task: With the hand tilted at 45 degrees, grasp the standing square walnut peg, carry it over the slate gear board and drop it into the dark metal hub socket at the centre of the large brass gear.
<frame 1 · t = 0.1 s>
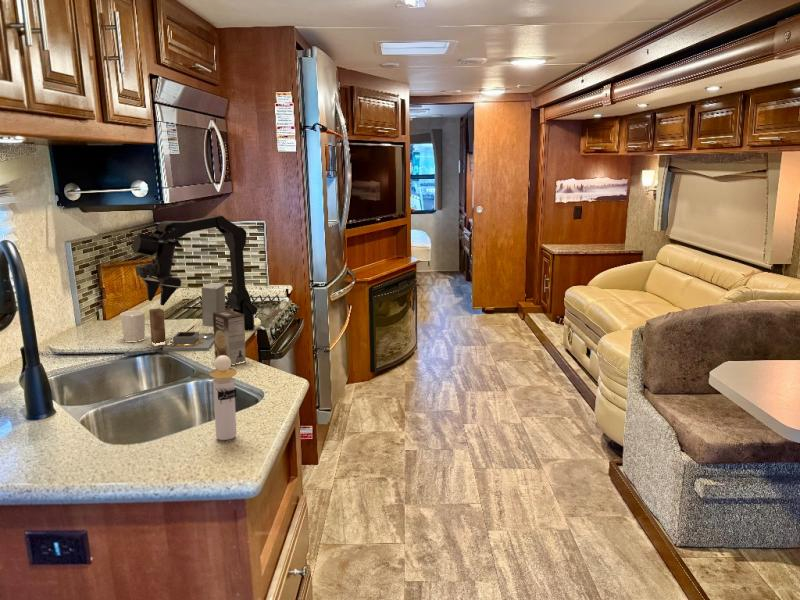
hand: (155, 303, 202), 15 cm above the counter, tool pointing down, fingers open, 9 cm apart
gears: (187, 345, 206), resting on board
coffee box: (230, 362, 191), on the counter
perfume bottle: (226, 439, 136), on the counter
board: (191, 343, 209), on the counter
skincare box: (214, 324, 236), on the counter
white cup: (134, 340, 212), on the counter
peg: (158, 344, 207), on the counter
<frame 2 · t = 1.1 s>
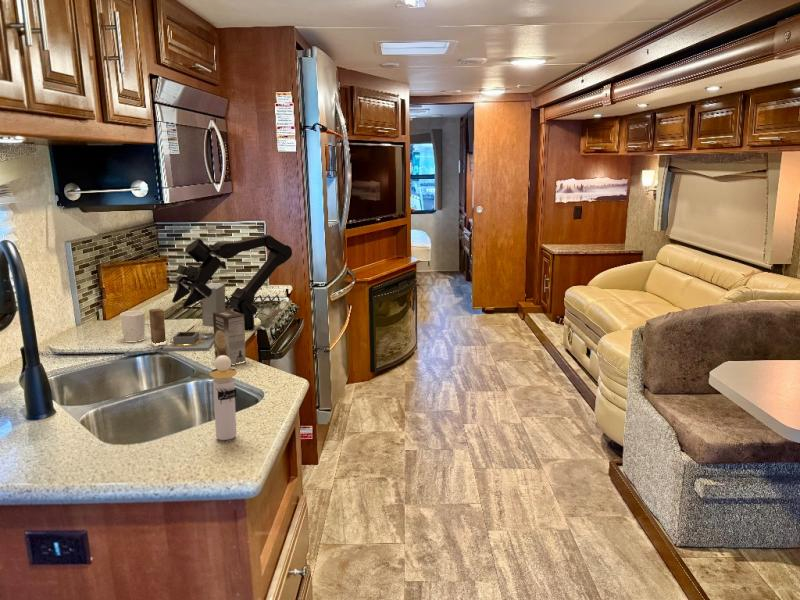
hand: (178, 304, 209), 13 cm above the counter, tool tilted 45°, fingers open, 9 cm apart
nothing on the counter moved.
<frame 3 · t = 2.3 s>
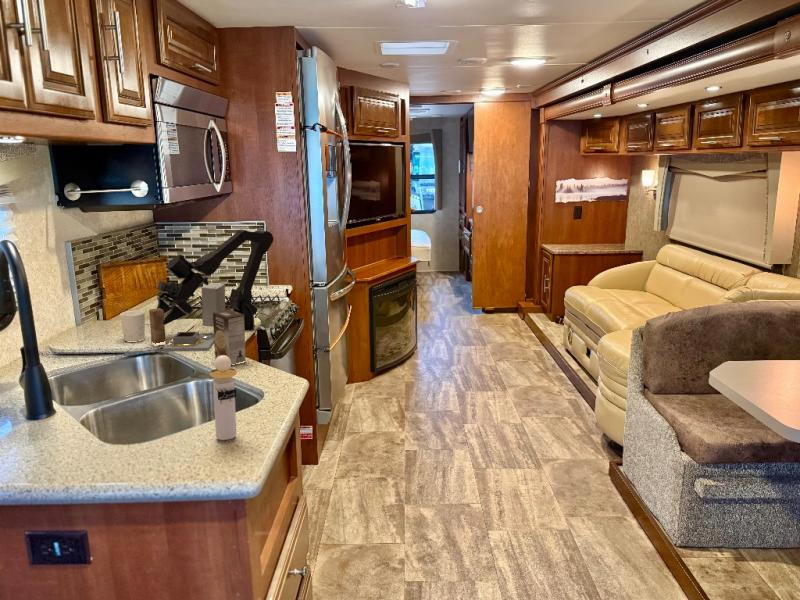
hand: (158, 321, 206), 8 cm above the counter, tool tilted 45°, fingers open, 9 cm apart
nothing on the counter moved.
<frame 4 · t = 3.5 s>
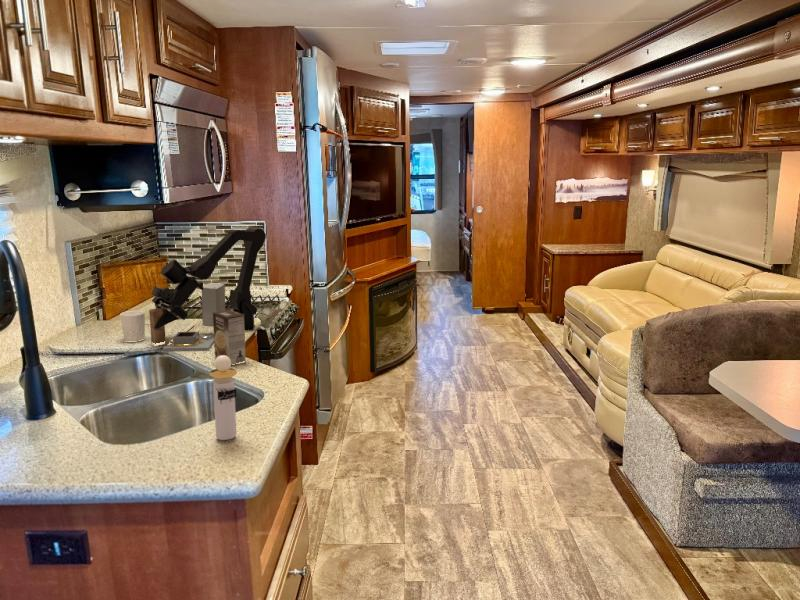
hand: (153, 327, 205), 7 cm above the counter, tool tilted 45°, fingers closed on peg, 4 cm apart
peg: (158, 344, 207), on the counter, touching gripper
everything else where it was.
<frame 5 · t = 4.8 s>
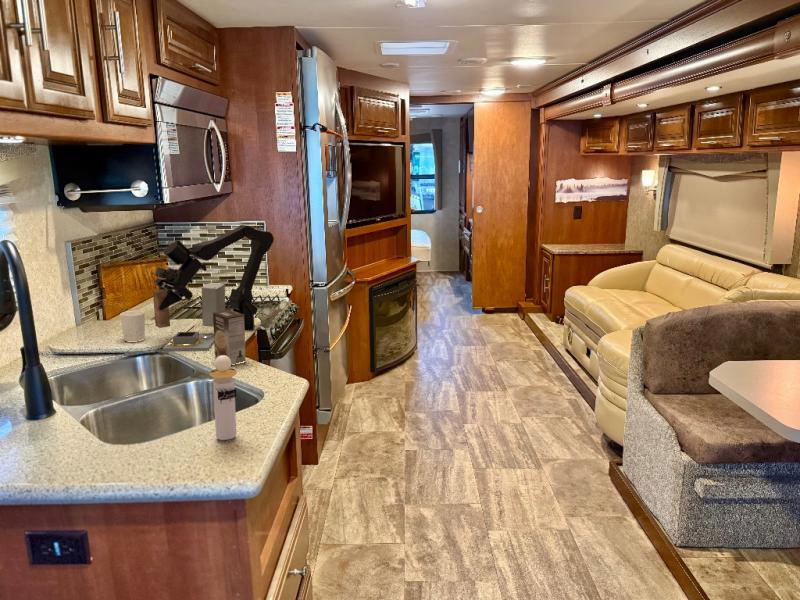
hand: (157, 308, 203), 13 cm above the counter, tool tilted 45°, fingers closed on peg, 4 cm apart
peg: (162, 326, 205), point 7 cm above the counter, touching gripper
everything else where it was.
when the fingers open (11 cm above the counter, at t = 6.0 s): peg drops 3 cm, resting on gears.
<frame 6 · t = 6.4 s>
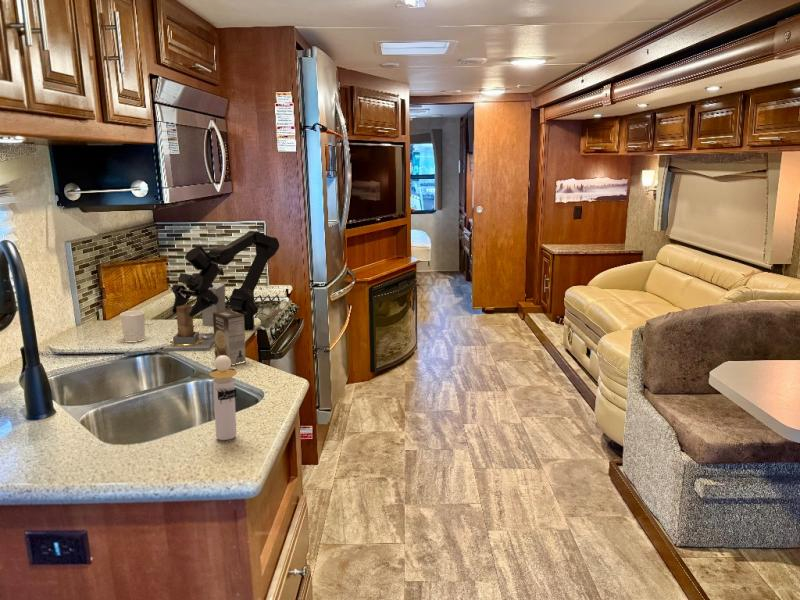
hand: (181, 314, 203), 12 cm above the counter, tool tilted 45°, fingers open, 8 cm apart
peg: (186, 341, 206), point 2 cm above the counter, touching gears
everything else where it was.
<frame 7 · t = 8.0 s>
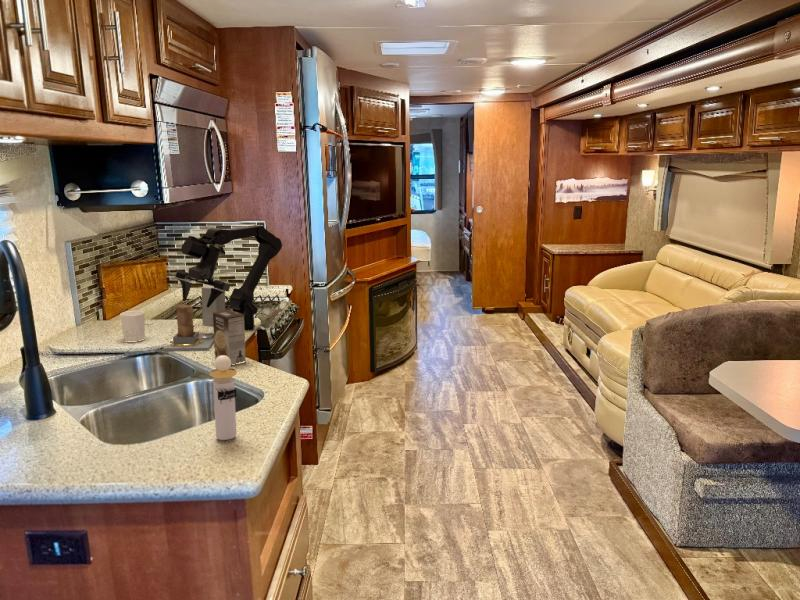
hand: (195, 304, 211), 13 cm above the counter, tool tilted 20°, fingers open, 9 cm apart
nothing on the counter moved.
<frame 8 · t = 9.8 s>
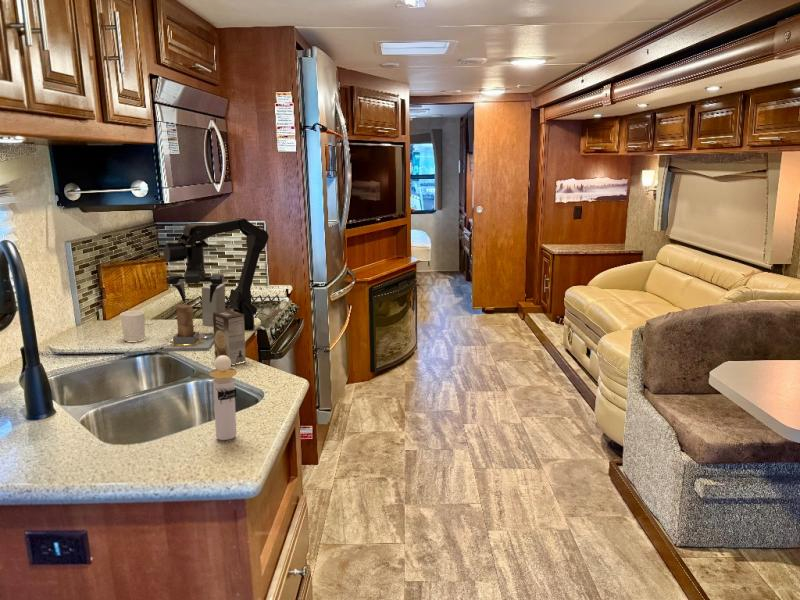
hand: (197, 302, 214), 13 cm above the counter, tool pointing down, fingers open, 9 cm apart
nothing on the counter moved.
at the end: peg 0.1 cm from the gears (horizontally); peg point 1.6 cm above the counter; peg tilted 0° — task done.
